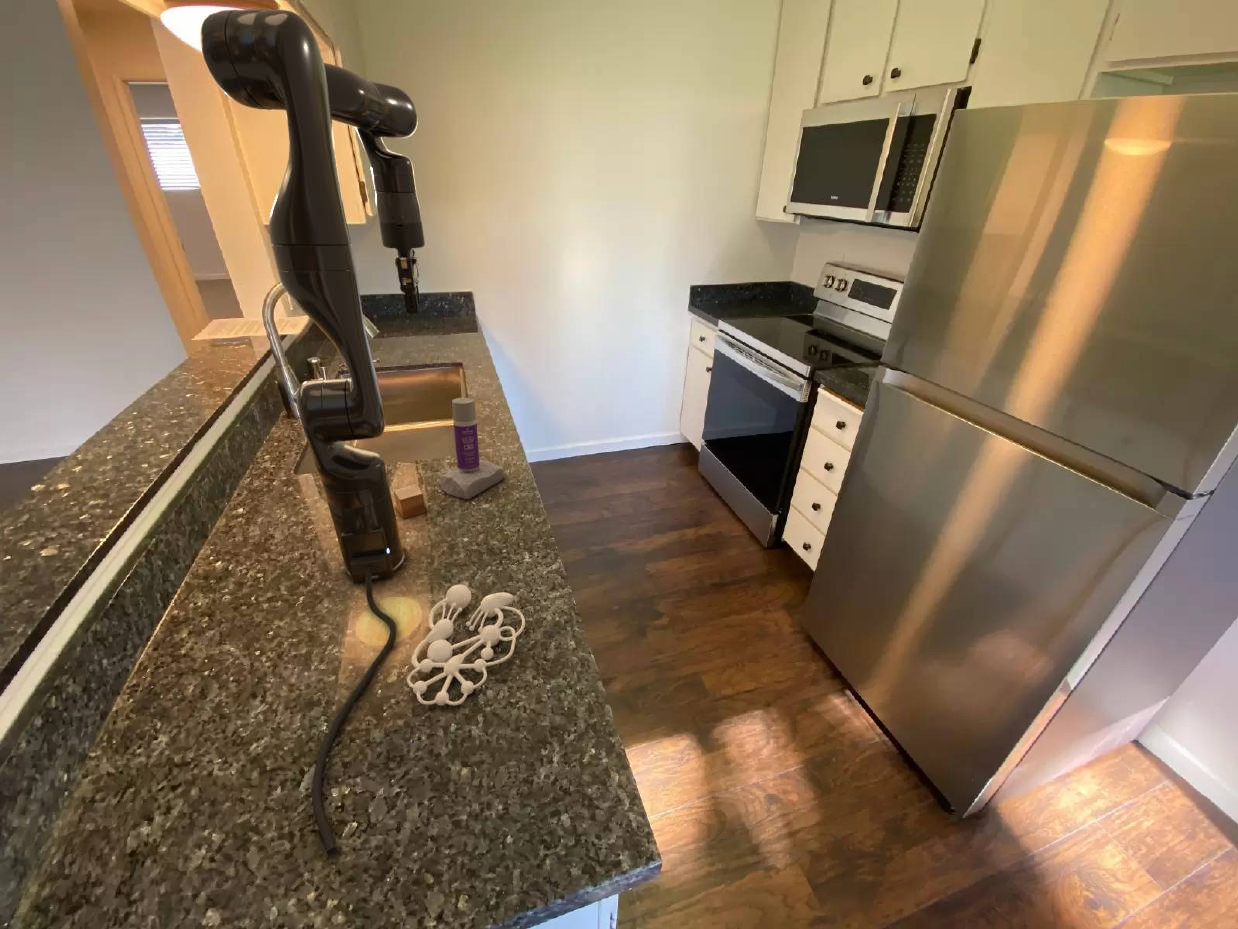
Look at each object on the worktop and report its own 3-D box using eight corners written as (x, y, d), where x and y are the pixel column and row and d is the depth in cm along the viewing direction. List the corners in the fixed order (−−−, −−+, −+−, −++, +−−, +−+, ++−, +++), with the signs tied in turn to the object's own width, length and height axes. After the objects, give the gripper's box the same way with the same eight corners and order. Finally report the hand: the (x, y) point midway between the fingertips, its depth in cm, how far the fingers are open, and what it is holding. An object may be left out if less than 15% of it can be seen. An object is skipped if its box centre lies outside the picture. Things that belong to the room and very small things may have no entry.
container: (466, 473, 110) (461, 404, 104) (452, 467, 112) (446, 400, 107) (484, 467, 113) (479, 400, 108) (470, 461, 116) (465, 396, 110)
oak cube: (426, 512, 105) (422, 493, 103) (403, 519, 102) (399, 500, 100) (418, 502, 108) (415, 484, 106) (397, 508, 105) (393, 490, 103)
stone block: (437, 496, 113) (468, 502, 108) (432, 475, 112) (463, 480, 106) (477, 475, 122) (508, 480, 117) (473, 456, 121) (504, 460, 115)
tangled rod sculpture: (488, 725, 65) (488, 705, 63) (380, 701, 67) (376, 680, 64) (534, 612, 82) (535, 593, 80) (447, 594, 83) (445, 575, 81)
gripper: (382, 216, 102) (396, 301, 109) (374, 221, 90) (390, 317, 97) (422, 217, 104) (434, 300, 111) (420, 222, 92) (433, 315, 99)
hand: (413, 308), depth 104 cm, fingers open, 8 cm apart
